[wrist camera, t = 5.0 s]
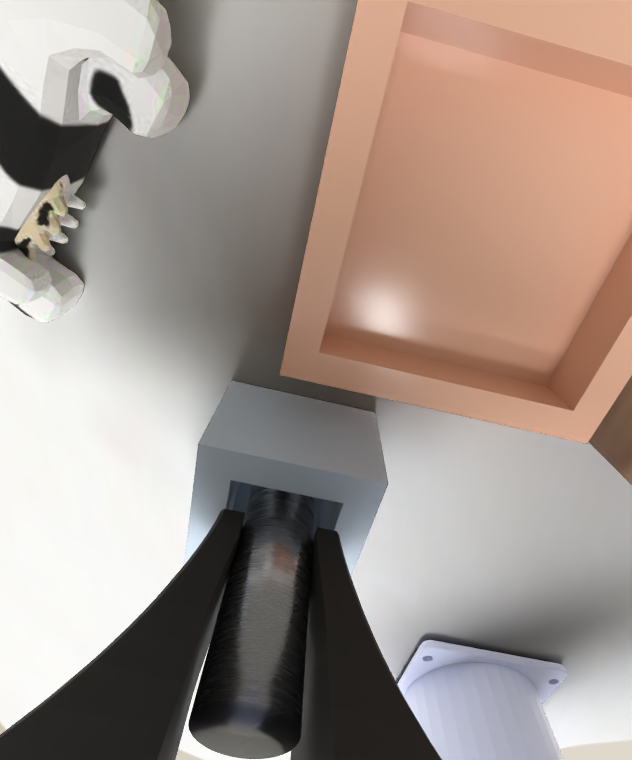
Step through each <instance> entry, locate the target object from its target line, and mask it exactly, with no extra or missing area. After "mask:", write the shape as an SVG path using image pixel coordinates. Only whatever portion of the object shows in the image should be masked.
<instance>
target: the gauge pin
mask: <svg viewBox="0 0 632 760" xmlns="http://www.w3.org/2000/svg"><path fill="white" fill-rule="evenodd" d="M314 510H315V497H311V496H306V495H301V494H296V493H291V492H286V491H281V490H277V489H272V488H267V487H262V486H257V485H253V487H252V491H251V495H250V498H249V502H248V506H247V509H246V513H245V517H244V521H243V526H242V530H241V534H240V537H239V541H238V545H237V548H236V552H235V556H234V559H233V562H232V565H231V568H230V572H229V576H228V579H227V583H226V587H225V591H224V594H223V598H222V602H221V605H220V609H219V613H218V616H217V620H216V624H215V627H214V631H213V635H212V638H211V642H210V646H209V649H208V653H207V657H206V660H205V664H204V668H203V672H202V675H201V679H200V683H199V686H198V690H197V694H196V697H195V701H194V705H193V708H192V712H191V716H190V719H189V730H190V732H191V734H192V735H193V737H194V738H195V739H196V740H197V741H198V742H199V743H201V744H202V745H204V746H205V747H207V748H209V749H211V750H213V751H215V752H218V753H221V754H224V755H228V756H232V757H237V758H245V759H264V758H271V757H276V756H279V755H282V754H285V753H287V752H289V751H291V750H292V749H293V748H295V747H296V746H297V744H298V743H299V741H300V738H301V727H302V710H303V693H304V677H305V660H306V643H307V626H308V610H309V593H310V576H311V559H312V542H313V526H314Z"/></svg>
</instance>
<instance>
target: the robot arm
mask: <svg viewBox="0 0 632 760" xmlns="http://www.w3.org/2000/svg"><path fill="white" fill-rule="evenodd" d="M244 516H245V513H244V512H239V511H235V510H230V509H223V510H221V511H220V513H219V515H218V517H217V519H216V521H215V523H214V524H213V526H212V527H211V529H210V531H209V532H208V534H207V535H206V537H205V538H204V539H203V541H202V542H201V544H200V545H199V546H198V548H197V549H196V550H195V552H194V553H193V554H192V556H191V557H190V558H189V560H188V561H187V562H186V564H185V565H184V566H183V567H182V569H181V570H180V571H179V572H178V573H177V575H176V576H175V577H174V578H173V579H172V580H171V582H170V583H169V584H168V585H167V586H166V587H165V589H164V590H163V591H162V592H161V593H160V594H159V595H158V597H157V598H156V599H155V600H154V601H153V602H152V603H151V604H150V605H149V606H148V607H147V608H146V609H145V611H144V612H143V613H142V614H141V615H140V616H139V617H138V618H137V619H136V620H135V621H134V622H133V623H132V624H131V625H130V626H129V627H128V628H127V629H126V630H125V631H124V632H122V633H121V634H120V635H119V636H118V637H117V638H116V639H115V640H114V641H113V642H112V643H111V644H110V645H109V646H108V647H107V648H106V649H105V650H103V651H102V652H101V653H100V654H99V655H98V656H97V657H96V658H95V659H94V660H92V661H91V662H90V663H89V664H88V665H87V666H85V667H84V668H83V669H82V670H81V671H80V672H78V673H77V674H76V675H75V676H74V677H72V678H71V679H70V680H69V681H68V682H67V683H65V684H64V685H63V686H62V687H61V688H59V689H58V690H57V691H56V692H55V693H54V694H52V695H51V696H50V697H49V698H47V699H46V700H45V701H44V702H42V703H41V704H40V705H38V706H37V707H36V708H35V709H33V710H32V711H31V712H29V713H28V714H27V715H25V716H24V717H23V718H21V719H20V720H19V721H18V722H16V723H15V724H14V725H12V726H11V727H10V728H8V729H7V730H6V731H5V732H3V733H2V734H1V735H0V760H175V759H176V755H177V751H178V747H179V743H180V740H181V736H182V732H183V729H184V725H185V721H186V717H187V714H188V710H189V706H190V702H191V699H192V695H193V692H194V689H195V685H196V682H197V679H198V676H199V673H200V670H201V667H202V664H203V661H204V659H205V656H206V653H207V650H208V647H209V644H210V641H211V638H212V635H213V631H214V627H215V624H216V620H217V616H218V613H219V609H220V605H221V602H222V598H223V594H224V591H225V587H226V583H227V579H228V576H229V572H230V568H231V565H232V562H233V559H234V556H235V552H236V548H237V545H238V541H239V537H240V534H241V530H242V526H243V521H244ZM567 676H568V674H567V671H566V669H565V667H564V666H563V665H561V664H558V663H553V662H547V661H542V660H537V659H531V658H526V657H521V656H515V655H510V654H505V653H499V652H494V651H488V650H483V649H478V648H472V647H467V646H462V645H456V644H451V643H445V642H440V641H435V640H426V641H424V642H422V643H421V644H420V646H419V648H418V650H417V651H416V653H415V655H414V656H413V658H412V660H411V662H410V663H409V665H408V667H407V668H406V670H405V672H404V674H403V675H402V677H401V679H400V680H399V682H398V684H397V683H396V681H395V679H394V677H393V675H392V674H391V672H390V670H389V668H388V665H387V663H386V661H385V659H384V657H383V655H382V653H381V651H380V649H379V647H378V645H377V642H376V640H375V638H374V636H373V633H372V631H371V629H370V626H369V624H368V622H367V619H366V617H365V614H364V612H363V609H362V607H361V604H360V601H359V598H358V596H357V593H356V590H355V587H354V585H353V582H352V579H351V576H350V573H349V569H348V566H347V563H346V560H345V556H344V553H343V549H342V545H341V541H340V536H339V534H338V532H337V531H334V530H329V529H324V528H319V527H317V529H316V532H315V535H314V538H313V542H312V559H311V576H310V593H309V610H308V626H307V643H306V660H305V677H304V693H303V710H302V727H301V738H300V741H299V743H298V744H297V746H296V747H295V748H293V749H292V751H291V760H564V759H563V756H562V754H561V751H560V749H559V746H558V744H557V741H556V739H555V736H554V734H553V731H552V729H551V726H550V724H549V721H548V719H547V716H546V714H545V711H544V709H543V706H542V704H543V703H544V702H545V701H546V699H547V698H548V697H549V696H550V695H551V694H552V693H553V692H554V691H555V690H556V689H557V688H558V686H559V685H560V684H561V683H562V682H563V681H564V680H565V679H566V678H567Z"/></svg>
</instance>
